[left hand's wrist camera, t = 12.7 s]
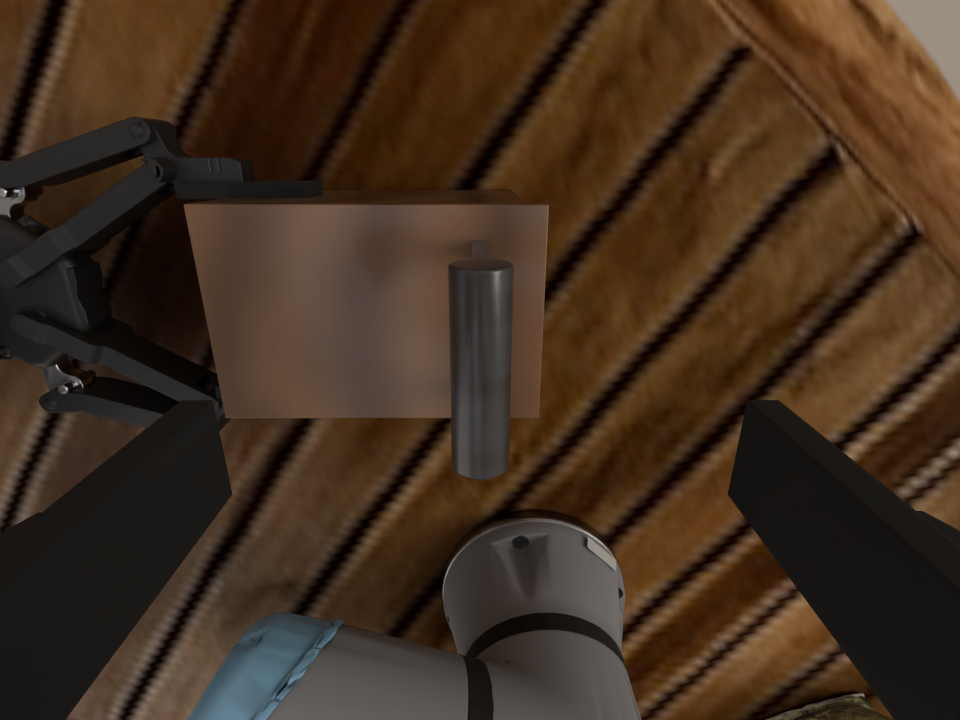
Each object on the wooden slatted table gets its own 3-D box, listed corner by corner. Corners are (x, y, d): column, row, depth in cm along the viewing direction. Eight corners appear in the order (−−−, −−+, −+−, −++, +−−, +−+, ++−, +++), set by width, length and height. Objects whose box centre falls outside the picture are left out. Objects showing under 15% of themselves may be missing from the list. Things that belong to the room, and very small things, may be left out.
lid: (545, 202, 23) (581, 224, 15) (536, 408, 27) (560, 512, 19) (196, 202, 23) (48, 223, 15) (235, 408, 27) (132, 512, 19)
